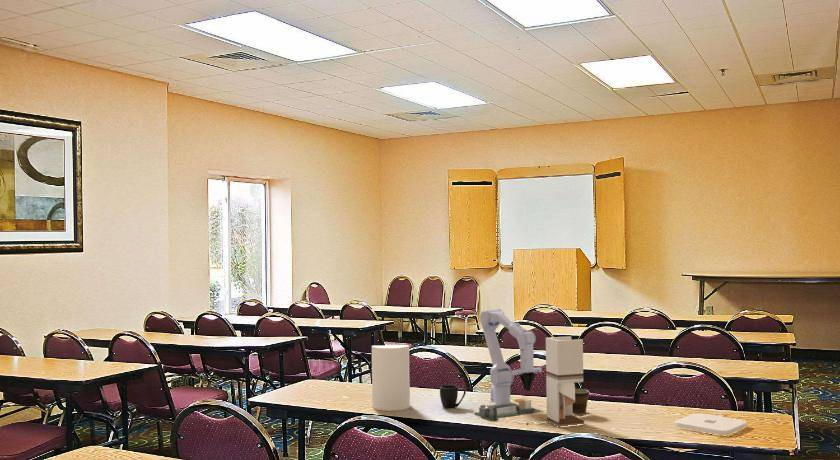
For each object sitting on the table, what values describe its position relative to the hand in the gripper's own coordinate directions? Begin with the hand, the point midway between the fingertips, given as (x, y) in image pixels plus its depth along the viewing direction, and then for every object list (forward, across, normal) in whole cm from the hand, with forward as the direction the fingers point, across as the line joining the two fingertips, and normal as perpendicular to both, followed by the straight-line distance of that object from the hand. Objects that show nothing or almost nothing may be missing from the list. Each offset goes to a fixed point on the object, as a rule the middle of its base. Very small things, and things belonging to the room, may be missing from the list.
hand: (527, 389), depth 330 cm
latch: (+9, -3, 0) cm, 9 cm away
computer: (+10, +48, -59) cm, 76 cm away
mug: (+10, -25, +22) cm, 35 cm away
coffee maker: (+10, +1, -26) cm, 28 cm away
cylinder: (+10, -49, +39) cm, 63 cm away
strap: (+6, -15, 0) cm, 16 cm away
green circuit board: (+9, -10, 0) cm, 14 cm away
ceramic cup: (+10, +14, -15) cm, 23 cm away
